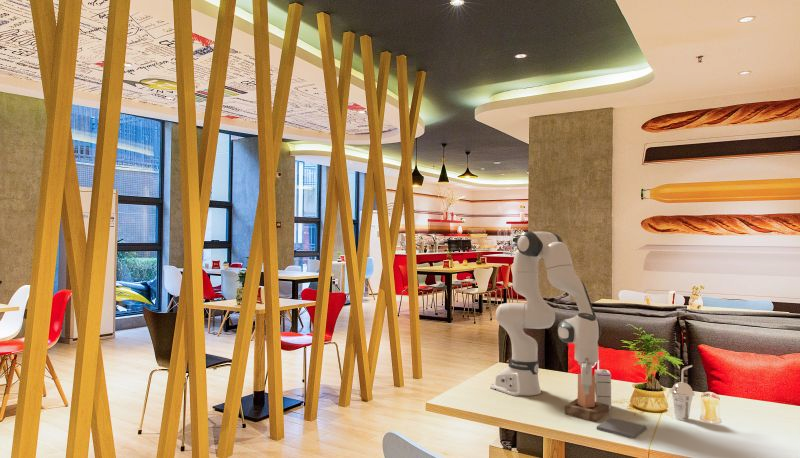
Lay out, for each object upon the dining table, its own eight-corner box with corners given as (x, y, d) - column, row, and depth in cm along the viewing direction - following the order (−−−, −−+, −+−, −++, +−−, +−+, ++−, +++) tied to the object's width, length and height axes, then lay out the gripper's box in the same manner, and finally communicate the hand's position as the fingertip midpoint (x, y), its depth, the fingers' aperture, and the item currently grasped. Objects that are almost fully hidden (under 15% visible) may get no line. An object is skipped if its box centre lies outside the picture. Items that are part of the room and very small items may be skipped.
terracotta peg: (577, 404, 216) (577, 373, 216) (587, 403, 218) (587, 372, 218) (585, 407, 212) (585, 376, 212) (594, 406, 214) (594, 375, 213)
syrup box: (611, 409, 220) (611, 373, 220) (596, 408, 221) (596, 372, 221) (609, 405, 226) (609, 369, 226) (594, 404, 227) (594, 368, 227)
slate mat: (596, 429, 198) (596, 426, 198) (610, 420, 208) (610, 417, 208) (633, 438, 189) (633, 435, 189) (646, 428, 199) (646, 425, 199)
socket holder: (564, 414, 214) (564, 405, 214) (578, 406, 223) (578, 398, 223) (595, 421, 206) (596, 412, 206) (609, 413, 215) (609, 404, 215)
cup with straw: (665, 414, 214) (666, 363, 214) (689, 415, 214) (689, 363, 214) (675, 422, 206) (676, 368, 206) (700, 422, 205) (700, 369, 205)
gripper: (595, 363, 204) (595, 400, 204) (594, 350, 223) (594, 384, 223) (578, 361, 206) (577, 398, 206) (577, 349, 225) (577, 383, 225)
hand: (586, 391), depth 215 cm, fingers closed on terracotta peg, 6 cm apart
